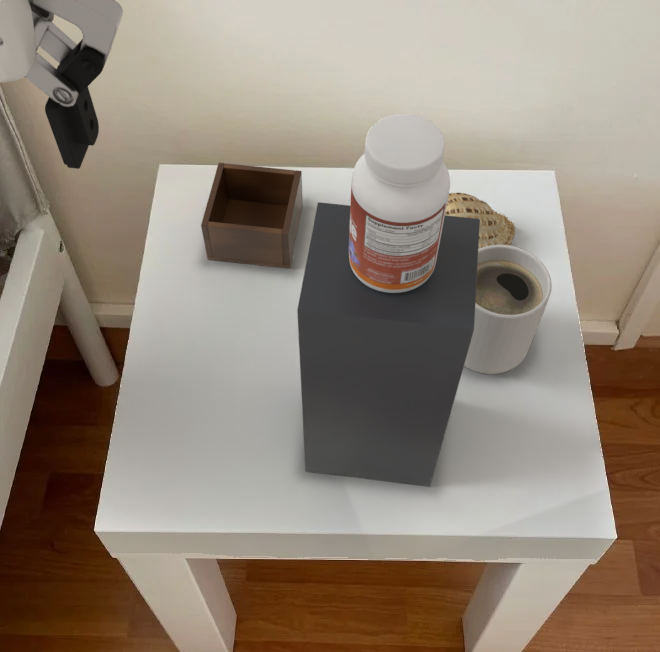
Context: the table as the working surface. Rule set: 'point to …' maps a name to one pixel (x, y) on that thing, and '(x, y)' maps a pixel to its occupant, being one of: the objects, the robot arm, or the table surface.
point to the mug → (506, 307)
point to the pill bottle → (398, 204)
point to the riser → (382, 355)
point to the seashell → (482, 219)
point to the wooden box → (253, 215)
